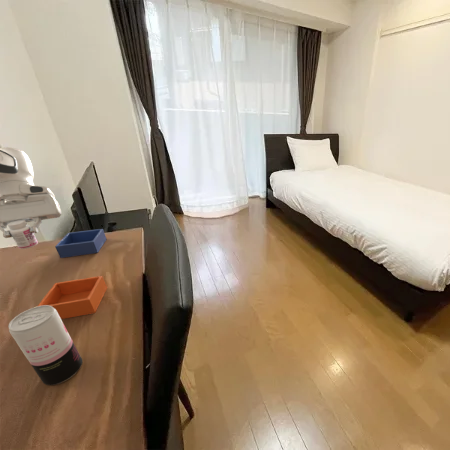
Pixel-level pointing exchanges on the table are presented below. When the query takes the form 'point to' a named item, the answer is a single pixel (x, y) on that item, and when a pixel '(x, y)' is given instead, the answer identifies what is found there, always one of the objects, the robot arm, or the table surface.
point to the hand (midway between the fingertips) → (21, 234)
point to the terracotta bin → (76, 296)
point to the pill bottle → (22, 234)
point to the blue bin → (81, 243)
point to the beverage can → (46, 344)
